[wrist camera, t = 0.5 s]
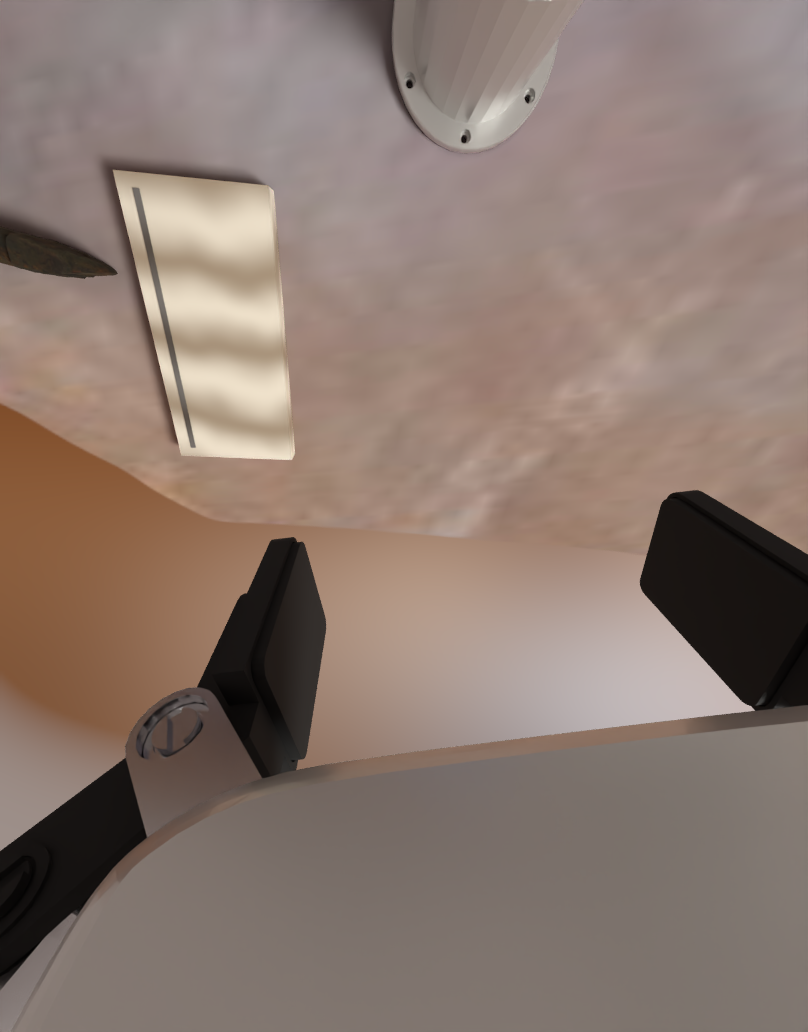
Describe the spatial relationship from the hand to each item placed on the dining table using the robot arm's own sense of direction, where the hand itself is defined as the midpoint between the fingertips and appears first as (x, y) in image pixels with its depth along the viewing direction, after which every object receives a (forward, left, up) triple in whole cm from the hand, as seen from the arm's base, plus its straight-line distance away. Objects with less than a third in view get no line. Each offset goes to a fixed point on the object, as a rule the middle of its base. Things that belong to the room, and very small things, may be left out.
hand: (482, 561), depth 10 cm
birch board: (-1, -18, -35) cm, 39 cm away
